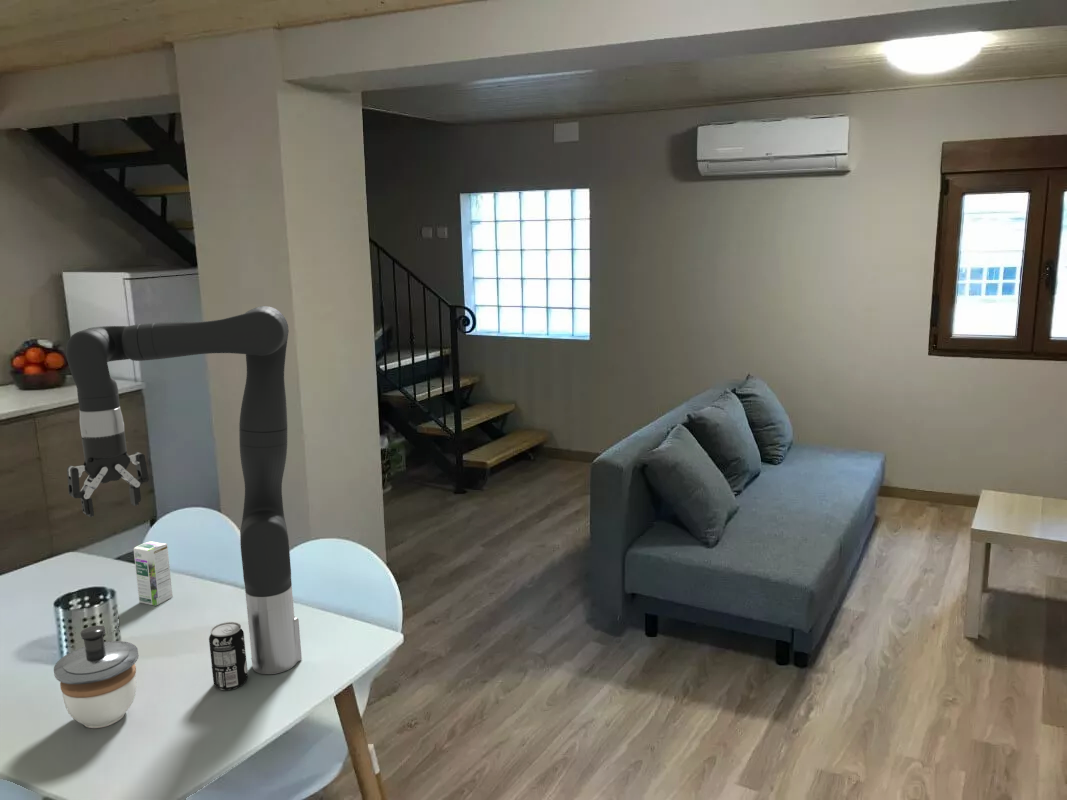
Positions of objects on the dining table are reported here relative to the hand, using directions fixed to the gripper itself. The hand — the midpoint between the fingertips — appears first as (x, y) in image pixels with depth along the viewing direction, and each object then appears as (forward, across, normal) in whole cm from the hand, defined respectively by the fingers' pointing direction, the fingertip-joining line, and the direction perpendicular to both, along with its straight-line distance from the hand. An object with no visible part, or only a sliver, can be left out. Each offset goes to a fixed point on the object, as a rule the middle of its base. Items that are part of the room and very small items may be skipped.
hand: (112, 510), depth 164 cm
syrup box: (+36, -19, -33) cm, 53 cm away
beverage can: (+36, -12, +18) cm, 42 cm away
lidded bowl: (+36, +10, +11) cm, 39 cm away
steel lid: (+25, +10, +11) cm, 29 cm away
